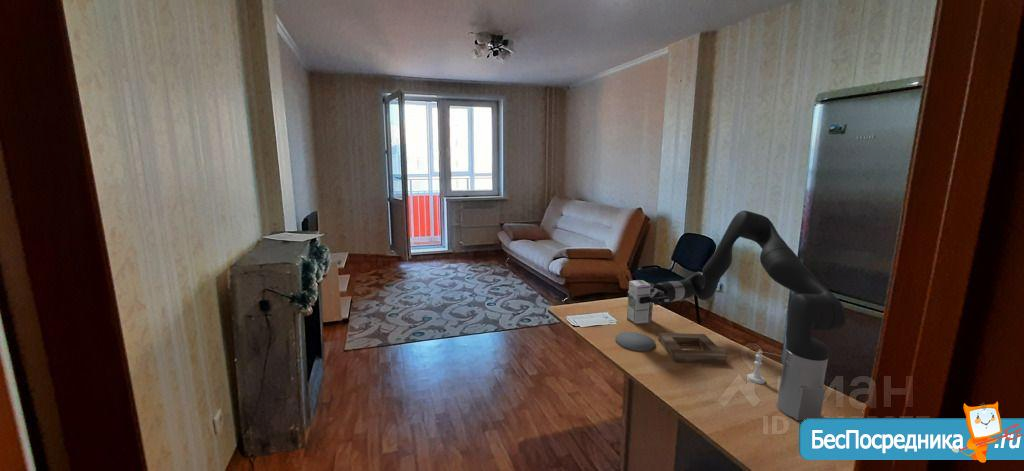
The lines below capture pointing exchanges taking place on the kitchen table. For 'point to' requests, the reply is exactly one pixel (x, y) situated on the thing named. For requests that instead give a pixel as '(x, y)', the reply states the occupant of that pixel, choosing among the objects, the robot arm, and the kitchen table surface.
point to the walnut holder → (706, 355)
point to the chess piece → (757, 370)
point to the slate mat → (635, 341)
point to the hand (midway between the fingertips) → (633, 297)
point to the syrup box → (635, 309)
